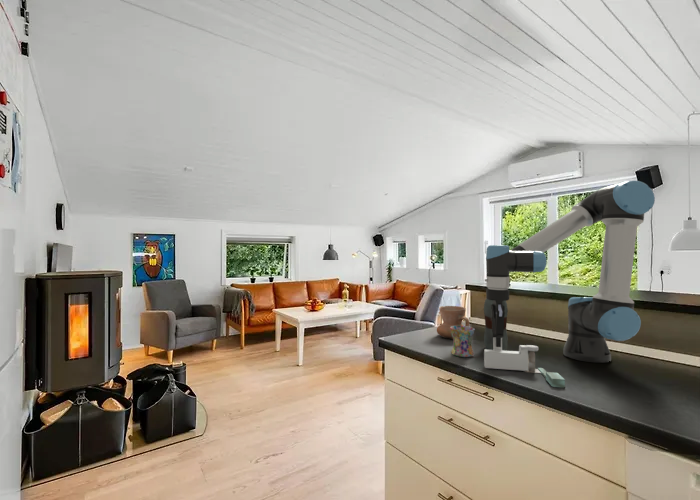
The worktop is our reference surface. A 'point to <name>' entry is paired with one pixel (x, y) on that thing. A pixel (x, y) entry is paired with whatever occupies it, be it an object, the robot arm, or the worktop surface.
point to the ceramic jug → (451, 319)
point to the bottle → (488, 326)
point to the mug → (462, 341)
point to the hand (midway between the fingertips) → (497, 355)
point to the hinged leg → (508, 358)
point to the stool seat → (551, 377)
